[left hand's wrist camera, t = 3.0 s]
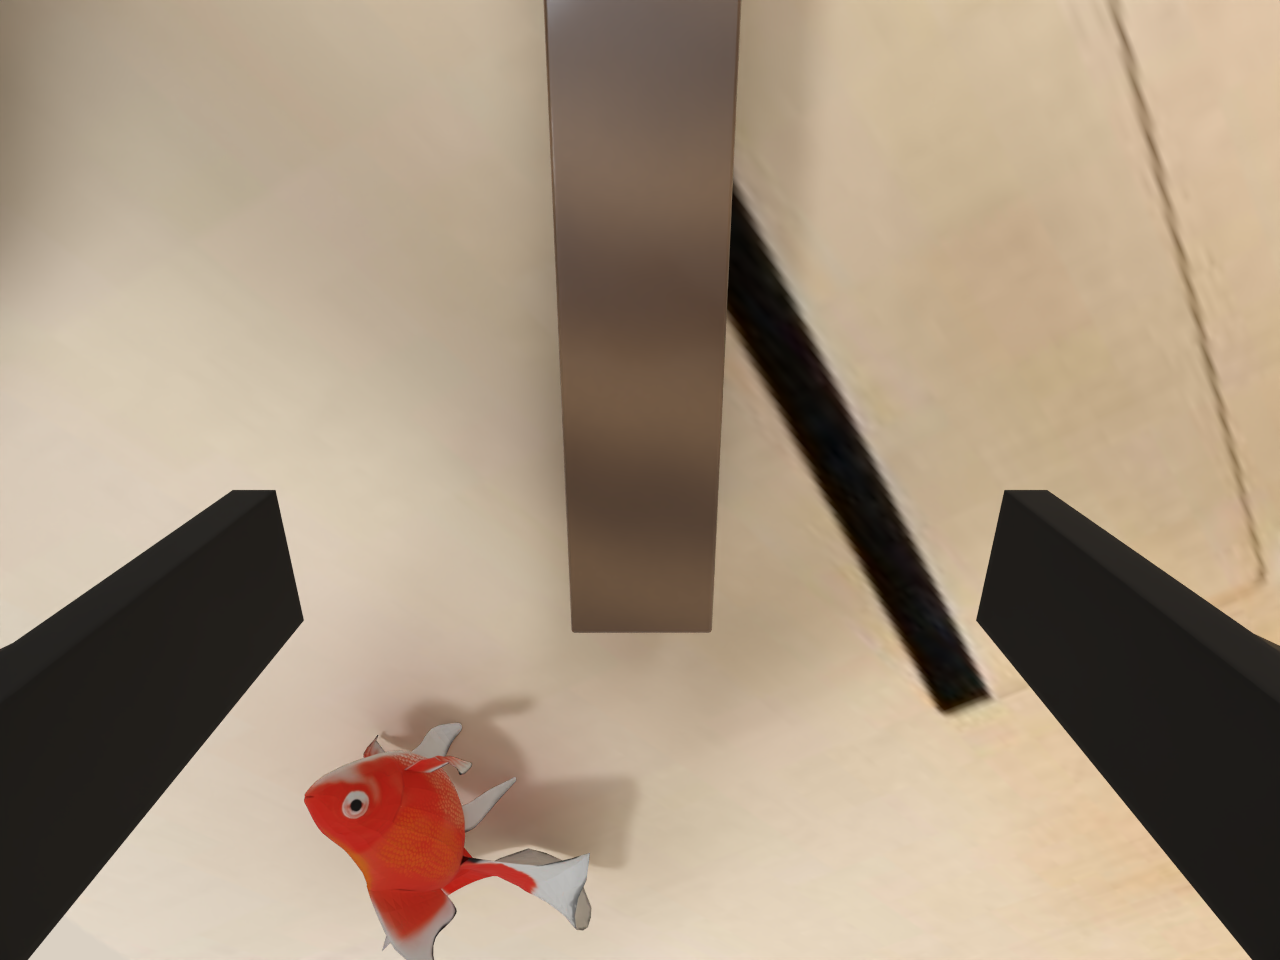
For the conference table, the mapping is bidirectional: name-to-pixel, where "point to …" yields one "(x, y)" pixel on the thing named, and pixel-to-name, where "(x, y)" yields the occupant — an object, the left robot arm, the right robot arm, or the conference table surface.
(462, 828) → the fish
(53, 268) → the conference table surface
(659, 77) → the bar
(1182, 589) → the left robot arm
